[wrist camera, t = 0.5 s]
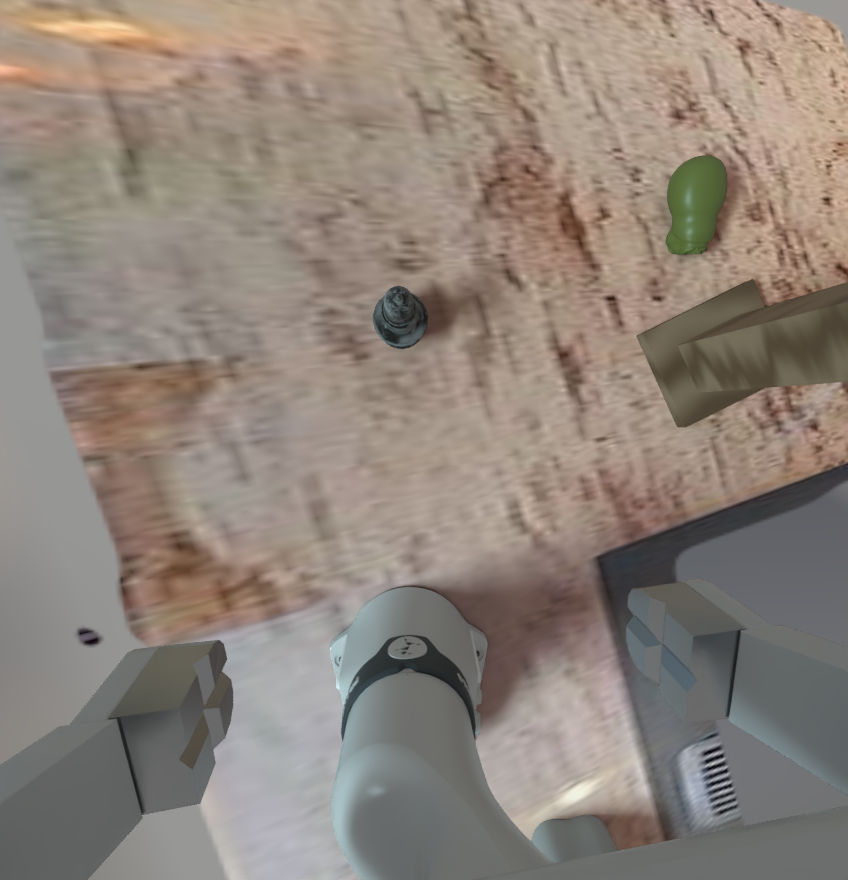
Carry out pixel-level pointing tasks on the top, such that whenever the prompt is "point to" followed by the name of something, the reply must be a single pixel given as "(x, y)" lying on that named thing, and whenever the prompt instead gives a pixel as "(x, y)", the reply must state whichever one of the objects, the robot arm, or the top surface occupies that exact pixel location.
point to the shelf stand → (747, 348)
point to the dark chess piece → (400, 318)
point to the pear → (695, 203)
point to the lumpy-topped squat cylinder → (573, 838)
